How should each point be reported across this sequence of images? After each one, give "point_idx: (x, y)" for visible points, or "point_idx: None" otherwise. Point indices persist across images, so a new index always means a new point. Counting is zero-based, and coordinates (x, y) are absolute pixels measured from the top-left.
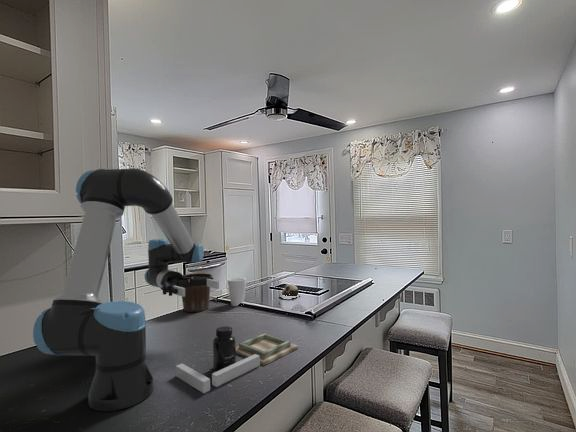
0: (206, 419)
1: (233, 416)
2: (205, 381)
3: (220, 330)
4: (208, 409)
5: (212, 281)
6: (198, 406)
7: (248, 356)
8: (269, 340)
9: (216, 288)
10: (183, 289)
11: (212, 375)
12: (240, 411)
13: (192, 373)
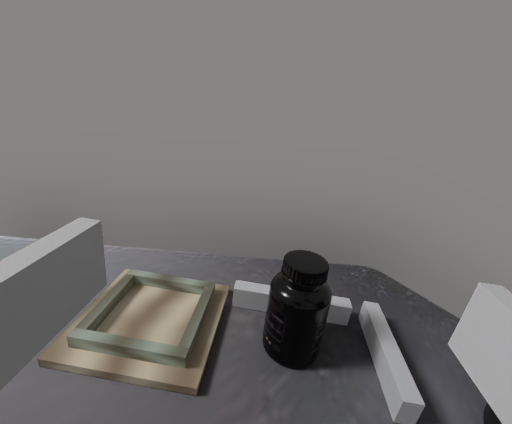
0: (389, 285)
1: (357, 269)
2: (373, 303)
3: (321, 261)
4: (380, 294)
5: (33, 277)
6: (391, 306)
7: (217, 324)
8: (100, 324)
9: (97, 291)
10: (493, 293)
11: (351, 309)
12: (345, 268)
13: (389, 337)
